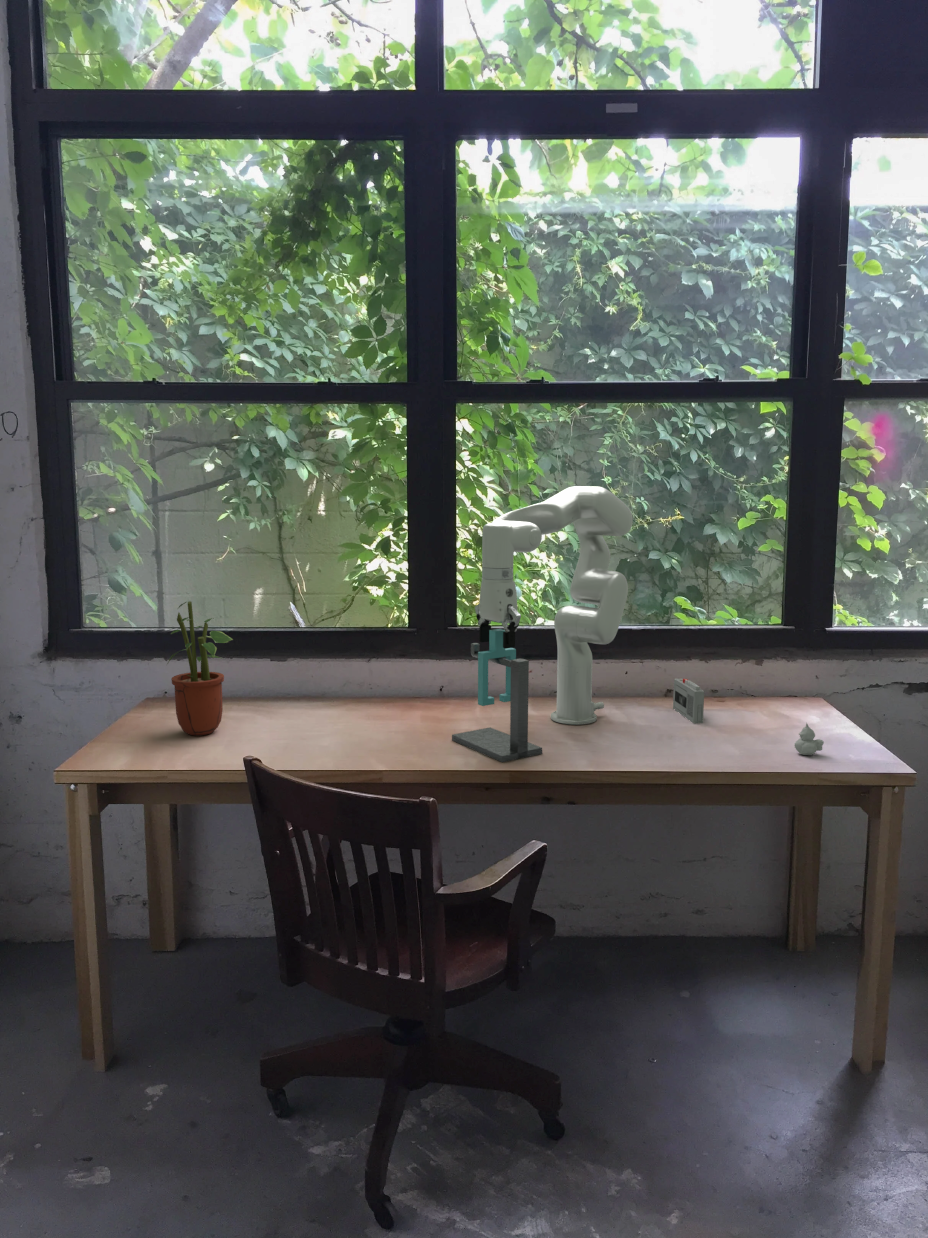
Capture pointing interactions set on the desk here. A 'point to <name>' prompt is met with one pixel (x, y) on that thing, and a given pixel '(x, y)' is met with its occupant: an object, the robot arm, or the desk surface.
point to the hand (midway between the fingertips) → (496, 644)
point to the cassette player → (688, 700)
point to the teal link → (483, 657)
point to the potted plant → (199, 683)
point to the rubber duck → (808, 742)
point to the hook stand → (517, 742)
